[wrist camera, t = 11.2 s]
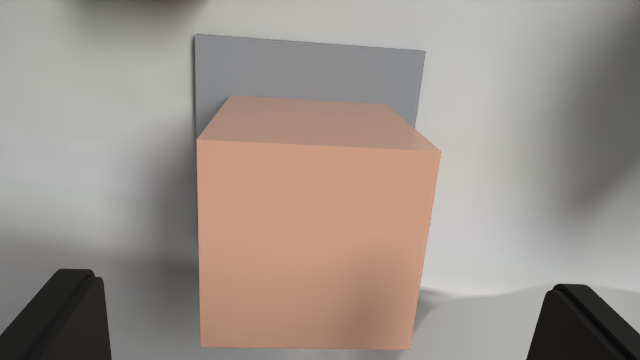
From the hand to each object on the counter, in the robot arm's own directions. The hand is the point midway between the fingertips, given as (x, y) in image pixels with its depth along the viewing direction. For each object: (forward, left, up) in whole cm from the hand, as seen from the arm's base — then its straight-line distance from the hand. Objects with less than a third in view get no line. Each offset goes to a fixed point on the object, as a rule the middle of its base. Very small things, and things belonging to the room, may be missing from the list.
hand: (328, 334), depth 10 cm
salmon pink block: (+1, 0, -13) cm, 13 cm away
